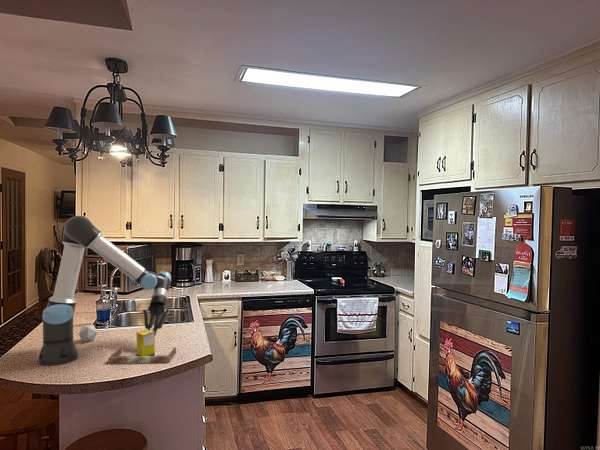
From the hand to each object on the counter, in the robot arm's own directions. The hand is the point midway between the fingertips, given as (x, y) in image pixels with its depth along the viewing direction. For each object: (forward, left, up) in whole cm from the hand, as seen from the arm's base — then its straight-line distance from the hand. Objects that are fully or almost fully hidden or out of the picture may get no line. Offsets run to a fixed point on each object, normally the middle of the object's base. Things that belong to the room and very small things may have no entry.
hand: (149, 341), depth 193 cm
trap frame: (0, -8, -5) cm, 9 cm away
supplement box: (0, -5, -5) cm, 7 cm away
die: (-36, +18, -5) cm, 41 cm away
